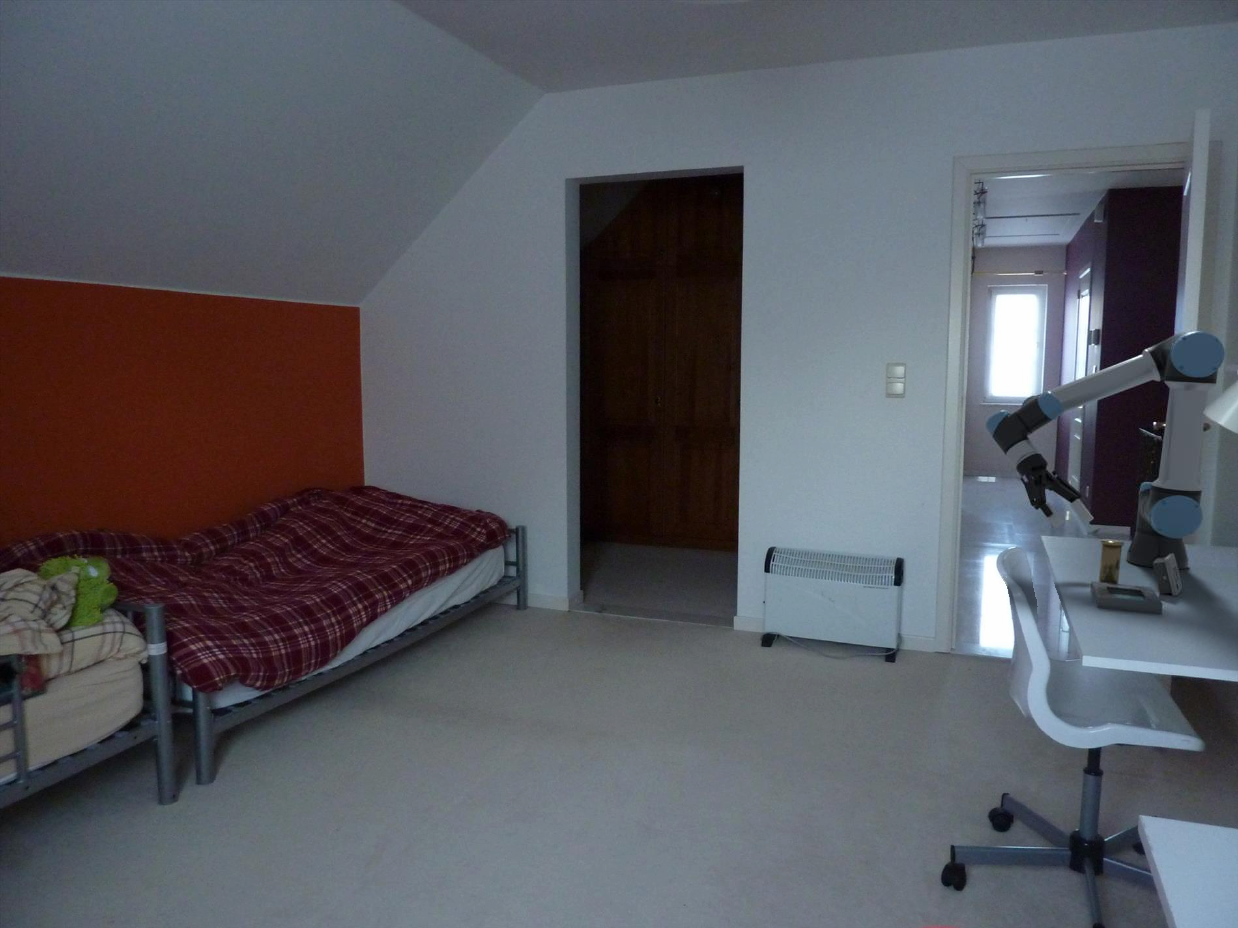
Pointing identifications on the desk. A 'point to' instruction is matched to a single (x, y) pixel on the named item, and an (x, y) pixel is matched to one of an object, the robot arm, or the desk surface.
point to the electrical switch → (1167, 575)
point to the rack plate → (1126, 597)
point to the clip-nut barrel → (1110, 561)
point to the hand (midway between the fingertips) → (1074, 523)
